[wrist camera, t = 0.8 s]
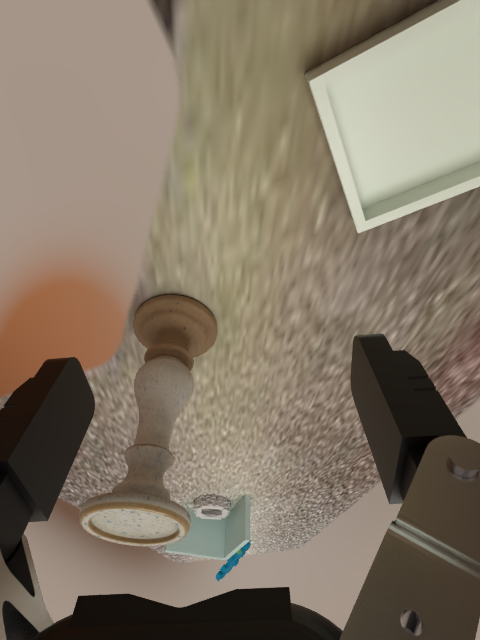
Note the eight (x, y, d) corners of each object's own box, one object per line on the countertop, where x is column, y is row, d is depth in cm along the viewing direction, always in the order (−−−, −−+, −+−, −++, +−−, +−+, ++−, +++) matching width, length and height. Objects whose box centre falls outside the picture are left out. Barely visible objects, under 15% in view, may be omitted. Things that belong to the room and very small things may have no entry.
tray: (304, 73, 25) (308, 81, 23) (629, -104, 20) (668, -111, 18) (351, 218, 32) (358, 233, 30) (601, 117, 27) (627, 128, 25)
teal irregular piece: (245, 559, 90) (215, 590, 83) (228, 538, 93) (197, 567, 86) (259, 536, 84) (227, 568, 77) (240, 515, 87) (208, 544, 80)
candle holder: (166, 361, 45) (124, 555, 30) (118, 311, 40) (38, 516, 25) (231, 338, 42) (221, 540, 27) (189, 281, 37) (148, 492, 22)
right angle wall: (250, 495, 70) (250, 540, 64) (228, 518, 78) (226, 560, 72) (186, 483, 67) (181, 529, 62) (170, 508, 75) (164, 551, 69)
